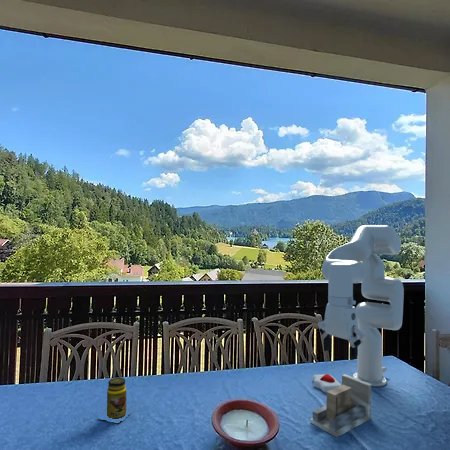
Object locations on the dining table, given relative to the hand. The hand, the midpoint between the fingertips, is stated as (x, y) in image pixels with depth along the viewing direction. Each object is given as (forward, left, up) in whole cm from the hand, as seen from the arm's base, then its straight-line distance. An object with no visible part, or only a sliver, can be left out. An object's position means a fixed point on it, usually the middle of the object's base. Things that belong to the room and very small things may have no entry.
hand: (340, 354), depth 118 cm
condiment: (+57, -45, -22) cm, 76 cm away
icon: (-18, -19, -22) cm, 34 cm away
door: (0, 0, -20) cm, 20 cm away
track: (-1, 0, -22) cm, 22 cm away
